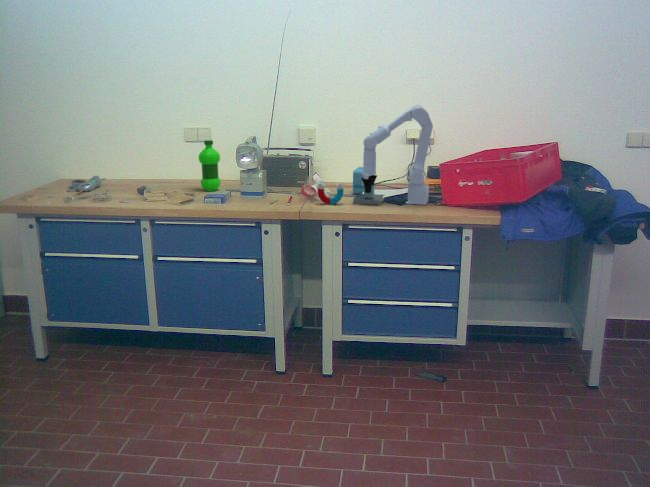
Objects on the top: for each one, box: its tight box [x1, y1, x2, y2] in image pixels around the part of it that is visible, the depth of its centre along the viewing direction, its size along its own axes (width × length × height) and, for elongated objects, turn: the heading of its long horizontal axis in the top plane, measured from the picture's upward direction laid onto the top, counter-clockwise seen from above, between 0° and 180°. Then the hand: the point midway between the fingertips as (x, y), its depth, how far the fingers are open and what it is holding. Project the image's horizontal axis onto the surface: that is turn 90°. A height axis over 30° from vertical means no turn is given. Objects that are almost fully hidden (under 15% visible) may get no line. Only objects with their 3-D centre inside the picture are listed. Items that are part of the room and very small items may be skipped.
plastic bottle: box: [198, 139, 222, 192], centre depth 327 cm, size 10×10×25 cm
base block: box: [352, 193, 385, 207], centre depth 303 cm, size 12×12×2 cm
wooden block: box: [364, 184, 375, 196], centre depth 302 cm, size 4×4×4 cm
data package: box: [352, 166, 364, 195], centre depth 323 cm, size 12×4×12 cm, turn 161°
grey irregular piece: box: [67, 175, 106, 195], centre depth 331 cm, size 6×28×16 cm
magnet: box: [317, 181, 344, 206], centre depth 298 cm, size 12×3×10 cm, turn 86°
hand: (369, 191), depth 302 cm, fingers closed on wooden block, 4 cm apart
